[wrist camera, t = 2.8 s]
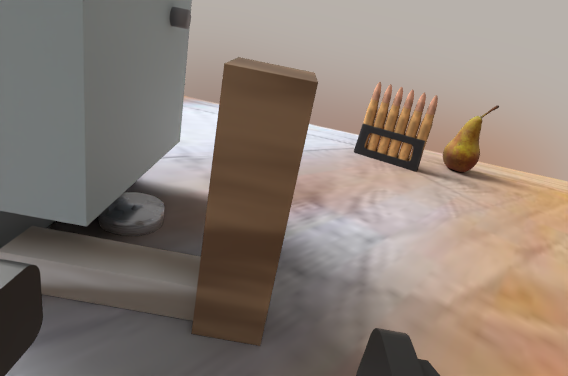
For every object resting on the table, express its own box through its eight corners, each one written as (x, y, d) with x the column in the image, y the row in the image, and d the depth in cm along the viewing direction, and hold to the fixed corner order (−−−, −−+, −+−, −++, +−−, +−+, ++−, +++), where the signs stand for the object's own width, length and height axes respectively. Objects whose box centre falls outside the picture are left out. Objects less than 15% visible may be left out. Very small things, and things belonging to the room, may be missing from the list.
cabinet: (103, 298, 23) (104, -130, 15) (-95, 263, 22) (-206, -197, 14) (188, 182, 40) (210, -42, 32) (79, 161, 40) (73, -71, 32)
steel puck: (137, 203, 35) (137, 187, 34) (175, 224, 32) (177, 208, 32) (85, 220, 30) (85, 202, 30) (125, 245, 28) (126, 227, 28)
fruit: (449, 163, 70) (474, 98, 65) (478, 175, 65) (506, 107, 61) (431, 164, 66) (456, 96, 62) (460, 177, 62) (489, 105, 58)
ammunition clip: (353, 152, 64) (373, 80, 59) (356, 150, 65) (375, 80, 61) (416, 171, 60) (442, 97, 56) (417, 169, 62) (443, 96, 57)
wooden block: (260, 345, 22) (318, 82, 16) (-12, 298, 21) (-55, 7, 15) (265, 300, 25) (314, 72, 20) (34, 258, 25) (14, 11, 19)
